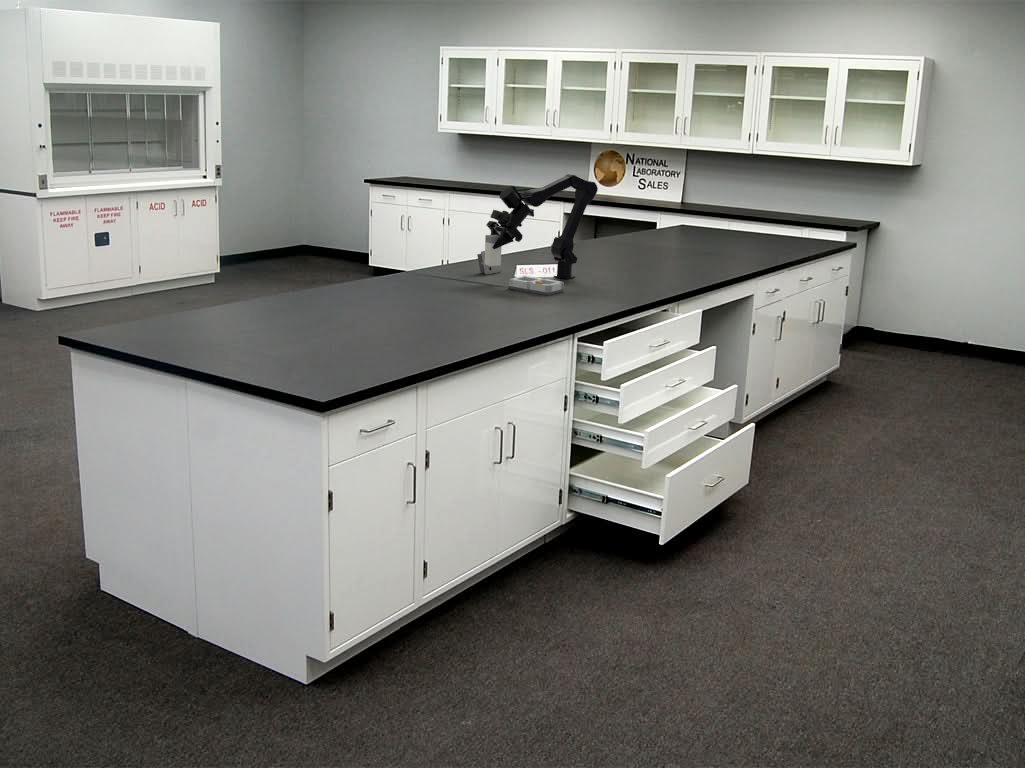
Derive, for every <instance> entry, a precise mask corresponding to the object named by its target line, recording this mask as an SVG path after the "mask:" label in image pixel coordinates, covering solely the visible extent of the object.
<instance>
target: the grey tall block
mask: <svg viewBox="0 0 1025 768" xmlns="http://www.w3.org/2000/svg"><path fill="white" fill-rule="evenodd" d="M499 237H500V236H499V235H490V234H486V235H485V240H484V241H485V244H484V251H485V264H486V265H489V266H499V265H500V266H501V265H502V246H501V247H499V248H497V249H493V246H494V244H495V243H496V241H497V240H498V238H499Z"/></svg>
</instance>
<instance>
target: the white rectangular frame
mask: <svg viewBox="0 0 1025 768" xmlns="http://www.w3.org/2000/svg"><path fill="white" fill-rule="evenodd" d="M509 288H510V290H514V289H515V290H516V291H520V292H526V293H533V294H537V295H539V294H540V295H542V296H543V295H545V296H551V295H555V293H556V294H558V293H562V292H565V291H564V289H565V282H564V281H559V280H554V279H548V278H547V279H546V278H541V277H535V276H529V275H521V276H517V277H513V278H509V279H508V289H509ZM515 290H514V291H515Z"/></svg>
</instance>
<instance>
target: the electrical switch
mask: <svg viewBox="0 0 1025 768" xmlns="http://www.w3.org/2000/svg"><path fill="white" fill-rule="evenodd" d="M477 260H478V261H477V262H478V265H479V266H478V267H479V272H480V274H485V275H490V274H491V275H493V274H498V273H501V271H502V269H501V265H499V266H489V265H486V264H485V250H481V252H480V253H478V254H477Z"/></svg>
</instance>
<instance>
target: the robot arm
mask: <svg viewBox="0 0 1025 768" xmlns="http://www.w3.org/2000/svg"><path fill="white" fill-rule="evenodd" d="M570 187H571V188H573V189H574V190H575V191H574V199H575V200H574V203H573V206H572V209H570V213H569V215H568V218H567V221H566V222H565V225H564V228H563V229H562V232H561V234H560V236H558V237H557V236H555V237H554V238H553V242H552V244H551V245H550V247H551V249H550V251H551V254H552V256H553V260H554V261H555V262H556V261H557V266H556V267H557V268H556V275H557V276H555V275H553V278H558V279H563V280H568V279H573V278H576V275H573V265H574V264H577V261H578V257H577V256H576V255H575V253H574V252H573V251H574V248H575V247H574V246H575V245H574V238H575V237H576V233H577V231H578V228H579V226H580V224H581V221H582V218H583V216H584V213H585V212H586V211H585V210H586V208H587V206H588V205H589V204H590V203H591V201H593V200H594V199H595V197H596V195H597V193H598V192H599V191H598V189H599V188H598V185H597V183H596V182H594V181H590V180H586V179H583V178H581V177H579V176H577V175H576V174H570V173H567V174H565V176H563V177H560V178H558V179H556V180H554V181H552V182H550V183H548V184H547V185H544V186H542V187H535V188H532V189H528V190H525V191H524V192H523V193H520V192H519V191H518V190H517V188H516V187H515V186H514V185H510V186H509V187H507V188H505V189H504V190H502V191H501V193H500V194H499V198H500V200H501V201H502V202H503V203H504V205H505V206H506V207H507V208H508V209H512V210H511V211H510V212H508V211H507V210H502V211H500V210H497V209H493V210H492V211H491V215H490V216H489V217H490V218H491V219H494V221H493V220H488V222H487V223H486V227H487V228H488V229H489V230H490V234H489V235H499V236H500V237H499V238H498V240H497V241H496V243H495V244H494V246H493V249H497V248H499V247H501V248H502V247H503V246H505V245H508V244H511V243H514V242H518V243H520V242H521V241H522V239H523V237H524V236H523V234H522V232H520V230H519V229H518V228H521V227H522V226H523V224H522V223H523V222H524V220H525V219H527V217H533V218H534V217H535V212H534V211H535V209H534V208H539V207H540V206H541V205H542V204H544V203H545V202H547V199H549V198H550V197H552V196H554V195H556V194H558V193H560V192H562V191H564V190H566V189H569V188H570ZM530 206H531V207H534V208H530ZM495 220H496V221H495Z"/></svg>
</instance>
